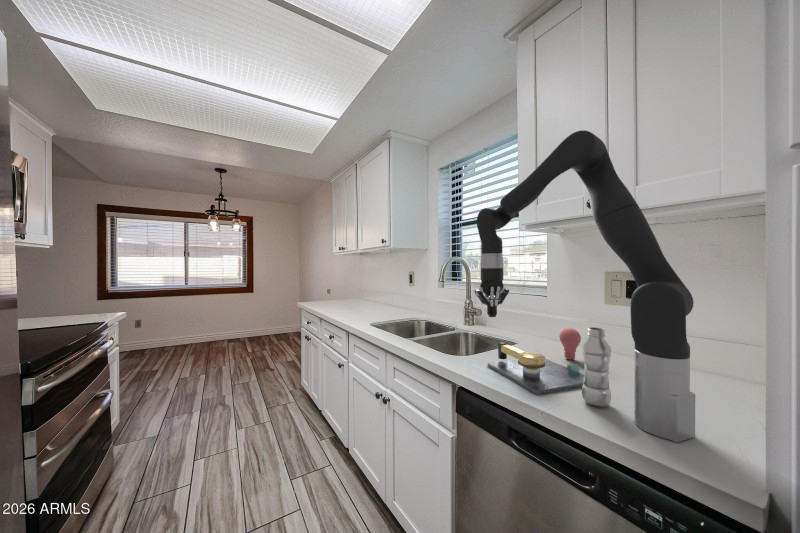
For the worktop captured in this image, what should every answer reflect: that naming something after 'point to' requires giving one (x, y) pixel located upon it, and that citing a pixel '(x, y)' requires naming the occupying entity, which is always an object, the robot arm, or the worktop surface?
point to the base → (541, 376)
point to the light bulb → (570, 342)
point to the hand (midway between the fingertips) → (492, 316)
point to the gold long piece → (521, 356)
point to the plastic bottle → (596, 368)
